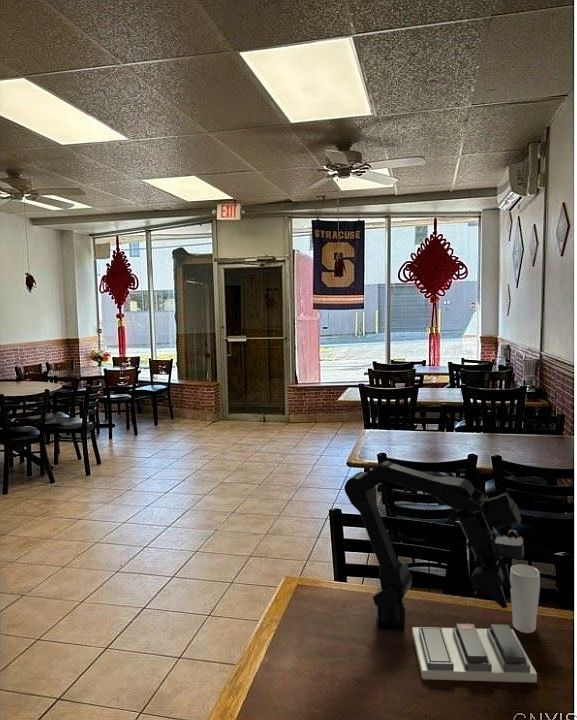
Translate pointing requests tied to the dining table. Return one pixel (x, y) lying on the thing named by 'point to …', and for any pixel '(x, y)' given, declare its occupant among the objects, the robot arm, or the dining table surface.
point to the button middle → (471, 643)
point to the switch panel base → (470, 670)
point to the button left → (435, 645)
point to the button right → (508, 644)
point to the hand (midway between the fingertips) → (507, 597)
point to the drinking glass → (524, 597)
